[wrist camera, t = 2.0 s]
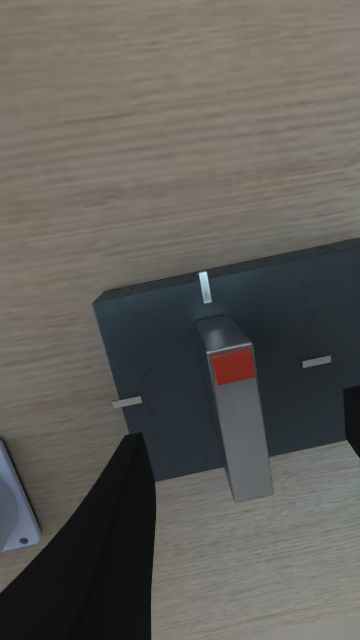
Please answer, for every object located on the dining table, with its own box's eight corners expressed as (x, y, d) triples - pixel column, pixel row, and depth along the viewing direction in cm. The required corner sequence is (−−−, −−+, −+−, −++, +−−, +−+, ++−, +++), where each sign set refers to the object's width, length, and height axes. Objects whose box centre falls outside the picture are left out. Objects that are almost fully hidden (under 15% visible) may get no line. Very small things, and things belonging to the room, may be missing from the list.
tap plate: (142, 452, 19) (138, 493, 16) (95, 285, 16) (80, 297, 13) (364, 404, 19) (404, 435, 16) (358, 231, 16) (405, 229, 13)
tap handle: (247, 434, 15) (277, 500, 12) (216, 440, 15) (236, 509, 11) (227, 313, 14) (255, 344, 10) (193, 321, 14) (207, 354, 10)
